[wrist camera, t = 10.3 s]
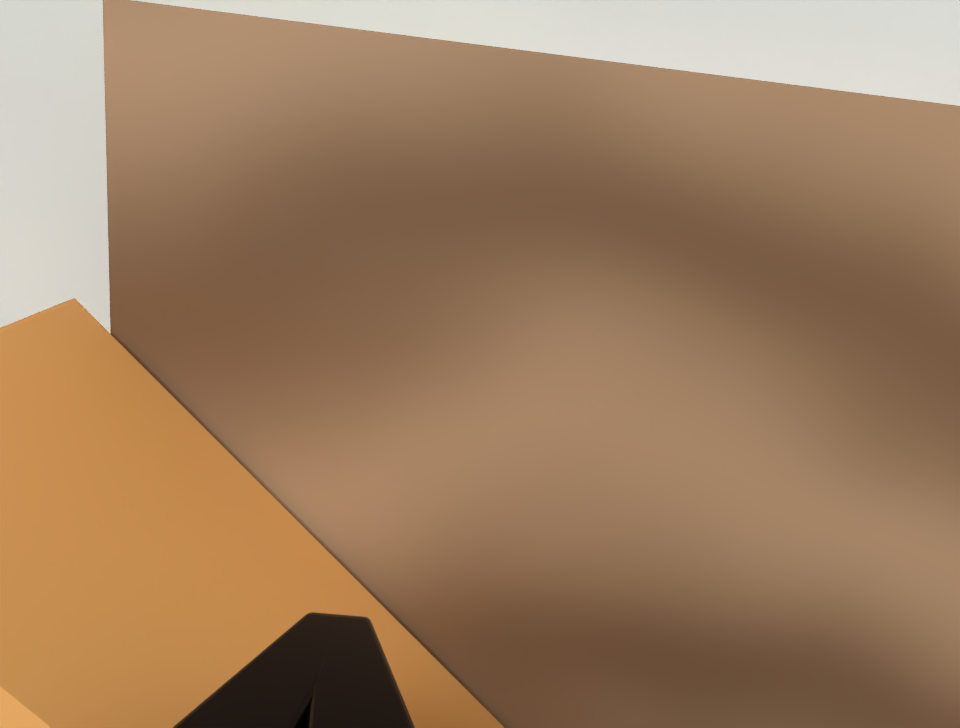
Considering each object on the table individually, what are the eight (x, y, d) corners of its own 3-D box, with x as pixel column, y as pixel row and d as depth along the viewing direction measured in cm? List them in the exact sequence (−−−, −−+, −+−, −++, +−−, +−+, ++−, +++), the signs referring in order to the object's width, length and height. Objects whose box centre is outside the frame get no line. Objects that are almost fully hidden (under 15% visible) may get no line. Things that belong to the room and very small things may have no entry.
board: (1011, 1032, 20) (1058, 1107, 18) (149, 995, 18) (121, 1074, 17) (1386, 171, 14) (1505, 174, 12) (137, 13, 12) (92, -6, 11)
